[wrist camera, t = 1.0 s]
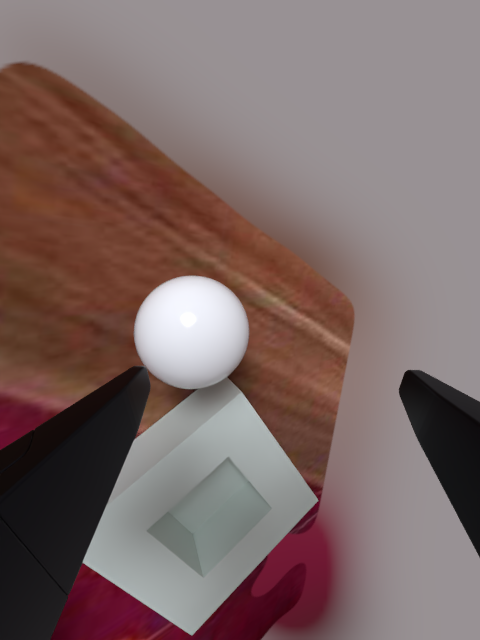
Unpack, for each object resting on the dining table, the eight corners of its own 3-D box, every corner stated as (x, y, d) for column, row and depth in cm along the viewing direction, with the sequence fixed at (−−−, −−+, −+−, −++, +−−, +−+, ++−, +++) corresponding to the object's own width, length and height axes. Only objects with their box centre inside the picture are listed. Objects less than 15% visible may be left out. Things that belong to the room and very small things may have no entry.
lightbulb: (179, 260, 22) (222, 246, 12) (222, 319, 24) (290, 349, 14) (114, 308, 20) (99, 338, 10) (166, 365, 22) (197, 436, 12)
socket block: (180, 573, 26) (191, 635, 22) (73, 488, 21) (58, 546, 16) (289, 466, 30) (318, 500, 25) (220, 370, 24) (241, 391, 20)
